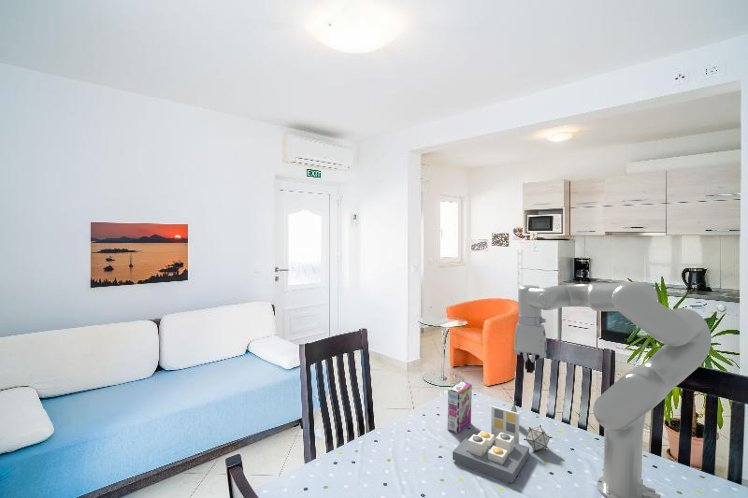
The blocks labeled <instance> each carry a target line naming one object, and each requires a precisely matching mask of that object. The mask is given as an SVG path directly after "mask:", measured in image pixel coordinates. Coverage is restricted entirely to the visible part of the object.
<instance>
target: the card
mask: <svg viewBox="0 0 748 498" xmlns="http://www.w3.org/2000/svg"><path fill="white" fill-rule="evenodd" d="M490 426H491V431H490V432H491V433H490V434H493V435H494V436H495V437H497V436H498V435H499V433H500V432H502V433H505V434H508V435H511V436H514V443H517V444H520V413H519V412H513V411H511V410H510V409H506V408H501V407H498V406H494V405H492V406H491V425H490Z"/></svg>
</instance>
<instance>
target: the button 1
mask: <svg viewBox="0 0 748 498" xmlns="http://www.w3.org/2000/svg"><path fill="white" fill-rule="evenodd" d="M468 452H469V453H472V454H475V455H477V456H480V457H483V456H484V455H485V453H486V452H487V438H484V437H481V436H478V435H475V434H473V435H472V436H471V437H470V438H469V440H468Z"/></svg>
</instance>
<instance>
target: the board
mask: <svg viewBox="0 0 748 498" xmlns="http://www.w3.org/2000/svg"><path fill="white" fill-rule="evenodd" d="M480 432H481V431H480V430H477V429H473V430H472V431H470V433H469V434H468V435H467V436H466V437H465V438H464V439H463V440H462V441H461V442H460V443H459V444H458V445H457V446H456V447H455V448H454V450H452V460H453V461H455V464H458V465H461V466H463V467H466V468H469V469H471V470H474V471H476V472H479V473H481V474H483V475H487V476H489V477H492V478H493V479H494V478H495V479H496V480H499V481H502V482H505V483H506V484H513V482H514V481H515V479H516V478H517V477H518V475H519V473H520V471H521V470H522V469H523V466H524V465H525V464H526V461H528V460H527V459H529V456H530V447H529V446H526V445H524V444H523V445H522V444H520V443H519V444H517V443H514V451H513V452H512V454H511V455H509V454H508V459H507V461H506V462H505V464H504V465H502V464H499V463H496V462H494V461H491V460H488V452H489V450H490V449H491V448H492V447H493V446H496V437H495V436H494V444H493V445H492V446H491V447H490V448H489V447H487V452H486V453H485V455H484V456H483V457H480V456H477V455H475V454H472V453H469V452H468V440H469V438H470V437H471V436H472V435H473V434H475V435H478V434H479V433H480Z"/></svg>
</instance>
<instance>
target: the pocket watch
mask: <svg viewBox="0 0 748 498" xmlns="http://www.w3.org/2000/svg"><path fill="white" fill-rule="evenodd" d="M516 404H517V401H516V400H514V401H513V404H512V405H513V406H511V410H510V411H513V412H517V411H518V410H517V408H516ZM517 413H518V412H517Z"/></svg>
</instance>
